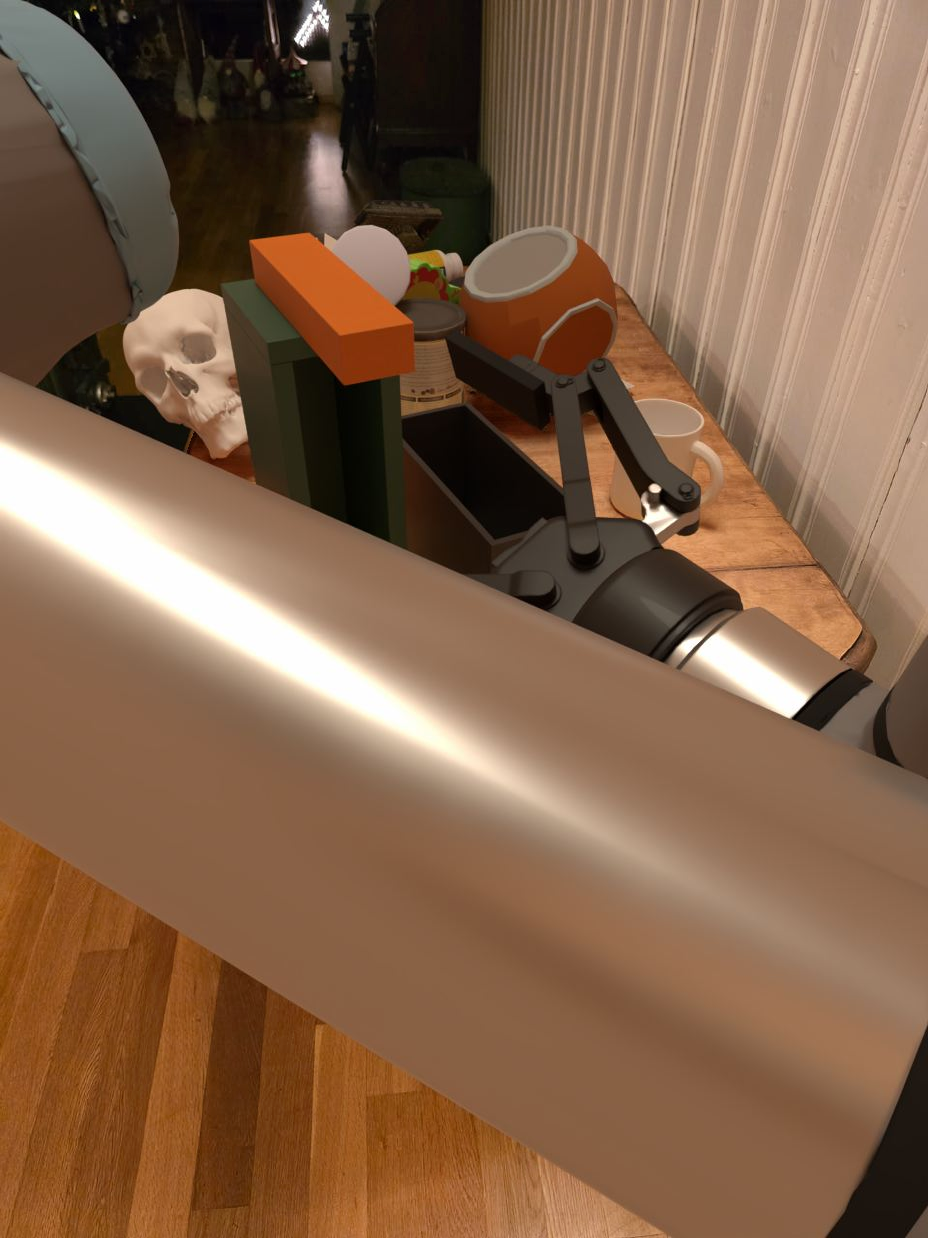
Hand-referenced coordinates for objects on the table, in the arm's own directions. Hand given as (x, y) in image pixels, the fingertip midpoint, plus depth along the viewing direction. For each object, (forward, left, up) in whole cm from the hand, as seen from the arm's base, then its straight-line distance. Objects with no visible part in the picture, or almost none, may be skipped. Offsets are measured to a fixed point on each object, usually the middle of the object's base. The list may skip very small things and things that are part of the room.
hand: (357, 430), depth 42 cm
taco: (-10, +70, -29) cm, 77 cm away
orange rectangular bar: (-6, +15, -1) cm, 17 cm away
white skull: (-25, +45, -28) cm, 58 cm away
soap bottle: (-13, +54, -10) cm, 56 cm away
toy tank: (-26, +102, -19) cm, 107 cm away
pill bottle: (-20, +98, -25) cm, 103 cm away
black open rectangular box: (+3, +25, -29) cm, 38 cm away
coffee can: (-7, +54, -29) cm, 62 cm away
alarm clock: (+11, +56, -18) cm, 60 cm away
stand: (-9, +19, -29) cm, 36 cm away
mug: (+21, +41, -29) cm, 54 cm away
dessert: (+10, +69, -29) cm, 75 cm away
